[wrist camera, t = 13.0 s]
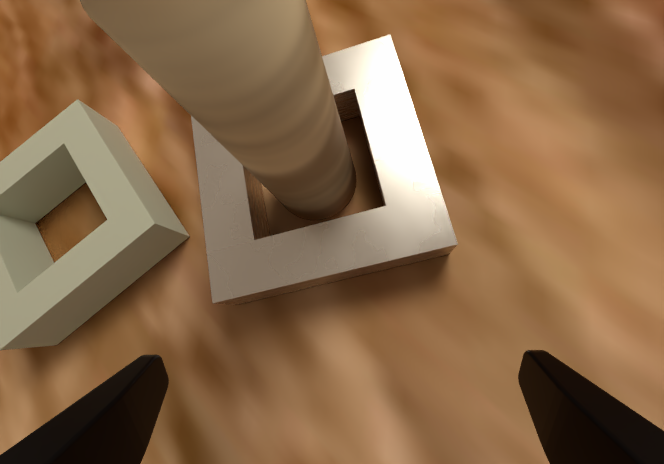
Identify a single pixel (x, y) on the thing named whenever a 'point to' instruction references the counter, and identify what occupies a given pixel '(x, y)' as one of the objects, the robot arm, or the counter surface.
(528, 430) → the counter surface
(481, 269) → the counter surface
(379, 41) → the socket block
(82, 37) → the counter surface
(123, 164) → the collar
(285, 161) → the tan rounded peg
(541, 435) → the robot arm
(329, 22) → the counter surface
